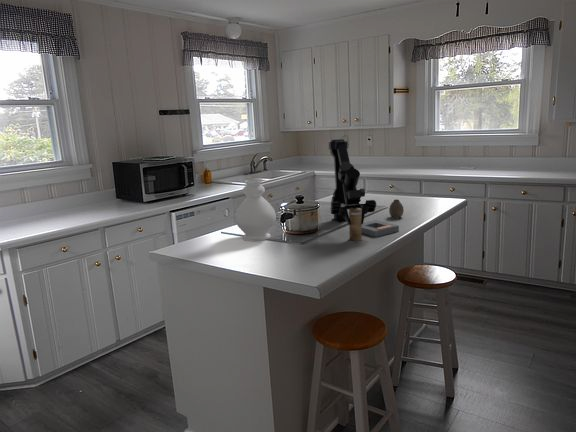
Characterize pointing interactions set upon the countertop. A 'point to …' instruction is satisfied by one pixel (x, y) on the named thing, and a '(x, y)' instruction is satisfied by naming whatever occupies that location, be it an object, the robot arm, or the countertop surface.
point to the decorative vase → (255, 213)
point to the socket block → (378, 228)
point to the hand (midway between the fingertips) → (356, 224)
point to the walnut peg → (355, 224)
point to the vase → (396, 209)
